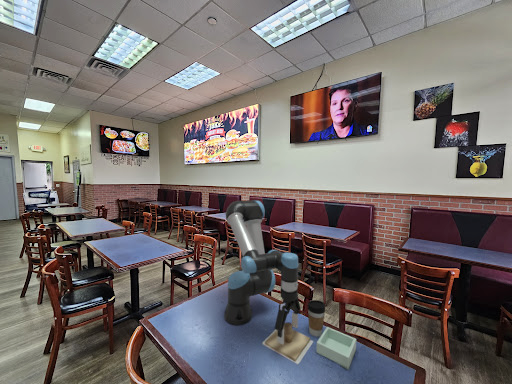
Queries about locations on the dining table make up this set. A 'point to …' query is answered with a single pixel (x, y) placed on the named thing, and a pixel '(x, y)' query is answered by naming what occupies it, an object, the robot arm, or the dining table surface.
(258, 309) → the dining table surface
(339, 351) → the dish
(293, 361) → the mat
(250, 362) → the dining table surface
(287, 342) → the lid
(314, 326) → the coffee cup
